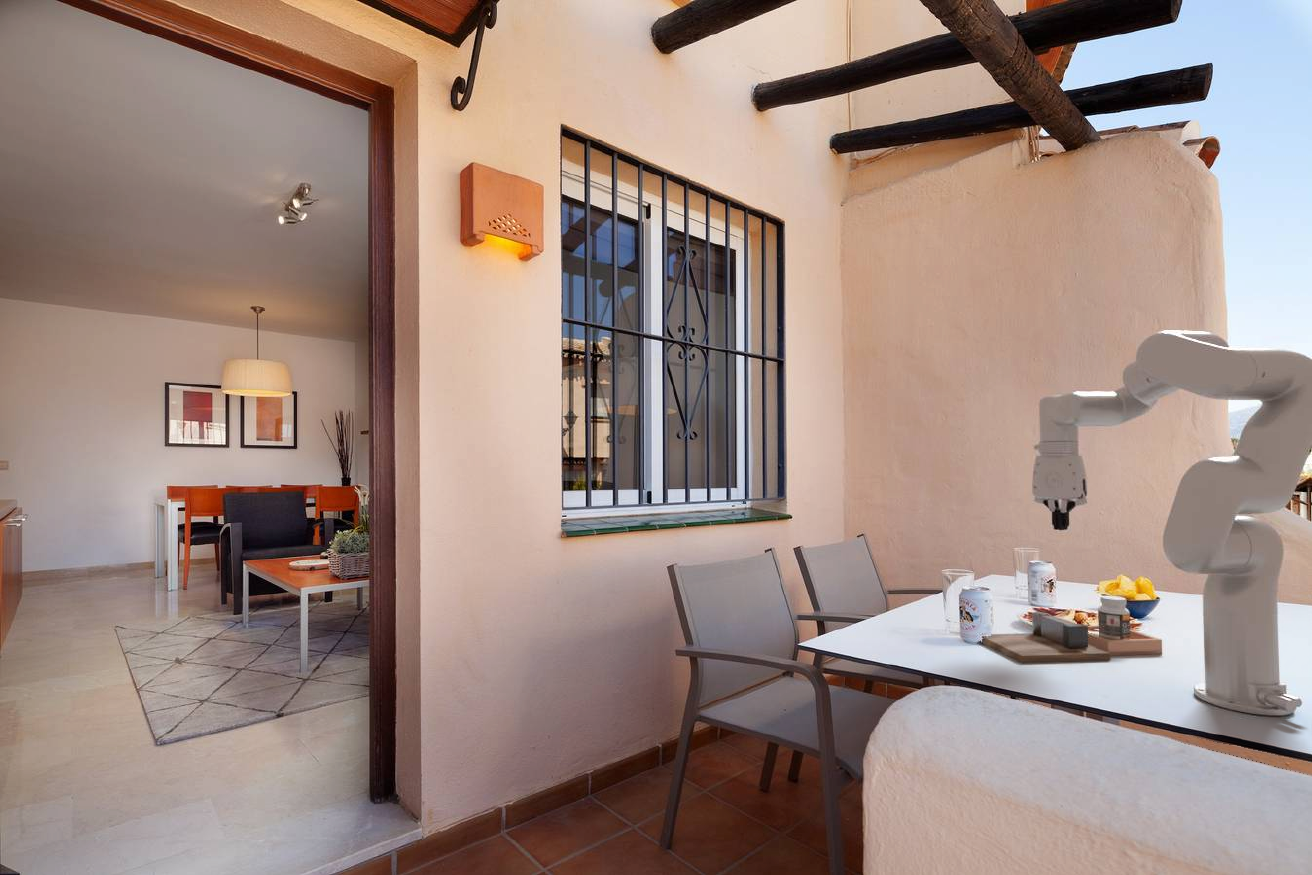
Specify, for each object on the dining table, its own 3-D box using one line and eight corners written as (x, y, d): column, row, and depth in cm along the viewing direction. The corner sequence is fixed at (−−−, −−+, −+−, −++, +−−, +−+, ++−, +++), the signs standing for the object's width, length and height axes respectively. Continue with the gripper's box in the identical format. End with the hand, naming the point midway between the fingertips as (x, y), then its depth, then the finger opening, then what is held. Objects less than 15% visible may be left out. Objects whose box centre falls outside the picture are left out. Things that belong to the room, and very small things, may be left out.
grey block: (1027, 632, 148) (1026, 612, 148) (1044, 631, 149) (1044, 611, 149) (1069, 648, 136) (1068, 626, 136) (1088, 647, 136) (1087, 626, 137)
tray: (1162, 653, 137) (1161, 639, 137) (1108, 655, 136) (1108, 641, 136) (1118, 638, 149) (1117, 624, 149) (1068, 639, 148) (1068, 626, 148)
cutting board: (1110, 660, 133) (1110, 652, 133) (1021, 663, 132) (1021, 655, 132) (1058, 639, 149) (1058, 631, 149) (978, 641, 147) (978, 634, 147)
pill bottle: (1131, 648, 139) (1130, 601, 139) (1098, 644, 142) (1097, 598, 142) (1129, 641, 143) (1128, 596, 144) (1098, 637, 146) (1097, 593, 147)
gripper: (1017, 449, 153) (1018, 527, 153) (1088, 449, 141) (1089, 534, 140) (1033, 449, 157) (1034, 525, 157) (1102, 449, 145) (1104, 531, 145)
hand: (1060, 529), depth 149 cm, fingers closed
